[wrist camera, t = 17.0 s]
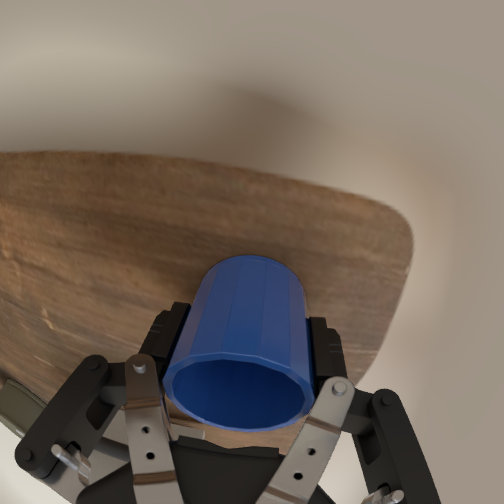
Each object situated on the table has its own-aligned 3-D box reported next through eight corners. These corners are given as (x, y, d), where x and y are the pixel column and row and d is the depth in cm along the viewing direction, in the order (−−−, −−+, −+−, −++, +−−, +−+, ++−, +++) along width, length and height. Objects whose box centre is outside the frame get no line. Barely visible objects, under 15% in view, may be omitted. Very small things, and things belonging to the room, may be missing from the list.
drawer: (59, 364, 20) (17, 438, 12) (200, 404, 19) (175, 508, 12) (117, 447, 29) (100, 497, 22) (212, 471, 29) (202, 527, 21)
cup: (314, 260, 14) (331, 361, 8) (296, 342, 16) (297, 435, 11) (196, 249, 14) (150, 340, 8) (201, 332, 17) (174, 420, 11)
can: (-4, 372, 29) (-22, 399, 23) (31, 386, 27) (10, 421, 21) (35, 414, 34) (21, 440, 28) (75, 431, 32) (61, 462, 26)
